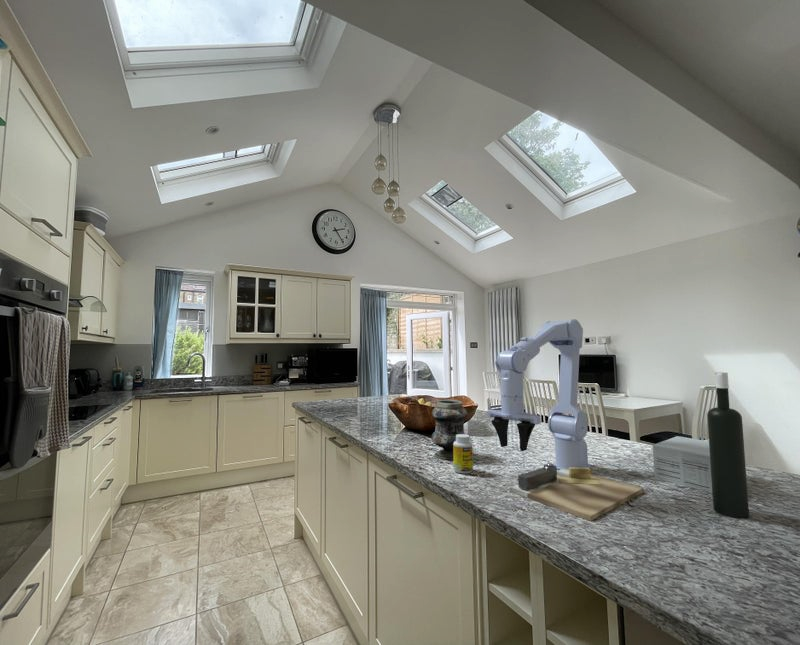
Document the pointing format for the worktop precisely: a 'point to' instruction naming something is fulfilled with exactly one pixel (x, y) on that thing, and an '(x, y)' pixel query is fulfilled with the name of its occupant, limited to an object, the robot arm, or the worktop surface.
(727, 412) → the wine bottle
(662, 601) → the worktop surface
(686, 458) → the supplement box
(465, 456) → the supplement bottle
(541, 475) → the swing bar
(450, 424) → the dark grey vase
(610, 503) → the door board
